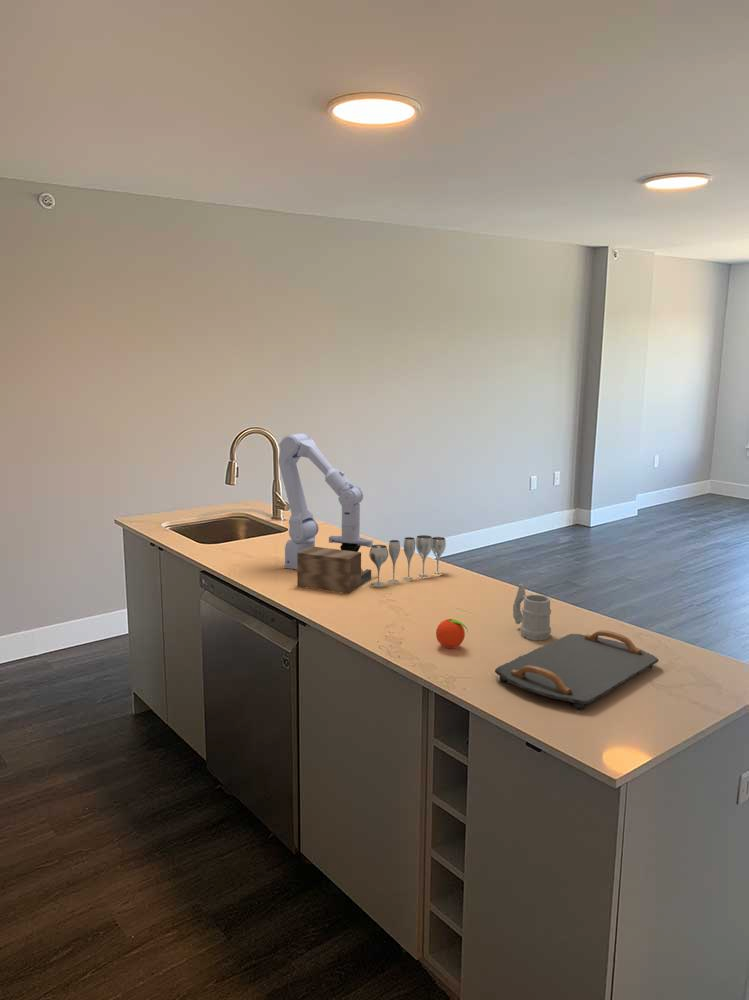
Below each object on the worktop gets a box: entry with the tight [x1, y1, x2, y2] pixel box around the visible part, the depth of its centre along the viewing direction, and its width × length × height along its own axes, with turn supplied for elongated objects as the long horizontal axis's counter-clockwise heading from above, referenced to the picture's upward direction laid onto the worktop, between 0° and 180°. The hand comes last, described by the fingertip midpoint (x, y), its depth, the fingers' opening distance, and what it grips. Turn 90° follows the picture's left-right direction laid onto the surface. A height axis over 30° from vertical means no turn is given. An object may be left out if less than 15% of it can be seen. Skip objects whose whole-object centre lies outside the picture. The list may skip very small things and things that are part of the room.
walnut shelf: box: [296, 546, 372, 595], centre depth 236 cm, size 17×17×10 cm
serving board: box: [494, 629, 659, 711], centre depth 171 cm, size 39×23×6 cm, turn 135°
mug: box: [512, 583, 552, 642], centre depth 195 cm, size 8×12×12 cm, turn 33°
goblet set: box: [368, 534, 447, 587], centre depth 241 cm, size 28×6×13 cm, turn 123°
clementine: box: [435, 618, 469, 649], centre depth 185 cm, size 8×7×7 cm
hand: (350, 566), depth 247 cm, fingers closed
